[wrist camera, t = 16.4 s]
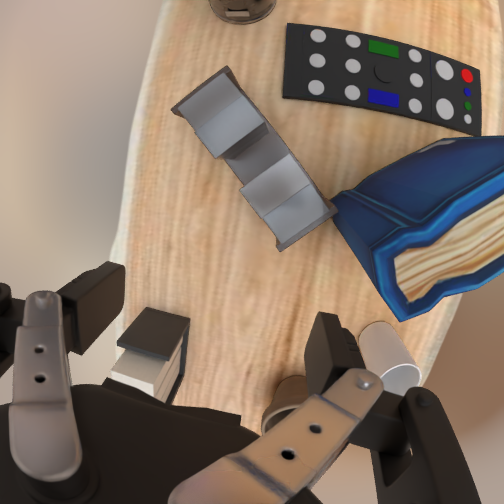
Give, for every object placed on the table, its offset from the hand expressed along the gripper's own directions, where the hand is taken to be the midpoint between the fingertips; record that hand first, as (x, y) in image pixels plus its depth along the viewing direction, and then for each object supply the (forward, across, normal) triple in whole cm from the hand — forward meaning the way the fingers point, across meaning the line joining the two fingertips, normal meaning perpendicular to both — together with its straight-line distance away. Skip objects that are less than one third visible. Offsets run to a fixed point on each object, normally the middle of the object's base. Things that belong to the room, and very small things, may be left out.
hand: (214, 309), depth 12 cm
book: (+31, -18, -6) cm, 36 cm away
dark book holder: (+31, +10, +26) cm, 41 cm away
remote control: (+31, -14, -22) cm, 41 cm away
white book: (+30, +10, +23) cm, 39 cm away
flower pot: (+30, -14, +29) cm, 44 cm away
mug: (+30, -23, +18) cm, 42 cm away
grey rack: (+31, +1, -6) cm, 31 cm away
